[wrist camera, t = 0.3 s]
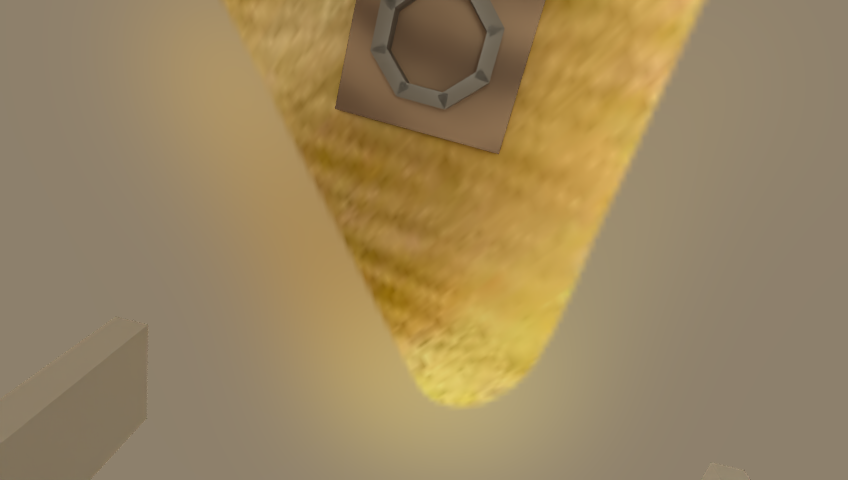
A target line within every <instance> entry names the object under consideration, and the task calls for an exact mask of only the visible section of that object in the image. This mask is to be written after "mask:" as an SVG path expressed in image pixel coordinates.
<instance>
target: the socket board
mask: <svg viewBox="0 0 848 480" xmlns="http://www.w3.org/2000/svg"><path fill="white" fill-rule="evenodd" d="M544 3H545V0H356V4H355V9H354V14H353V19H352V25H351V30H350V35H349V40H348V45H347V50H346V55H345V60H344V65H343V70H342V76H341V81H340V86H339V91H338V96H337V101H336V106H335V109H338V110H341V111H345V112H348V113H352V114H356V115H359V116H363V117H367V118H370V119H374V120H377V121H381V122H385V123H388V124H392V125H395V126H399V127H403V128H406V129H410V130H414V131H417V132H421V133H424V134H428V135H432V136H435V137H439V138H443V139H446V140H450V141H453V142H457V143H461V144H464V145H468V146H472V147H475V148H479V149H482V150H486V151H490V152H493V153H497V154H499V151H500V148H501V145H502V141H503V138H504V135H505V132H506V128H507V125H508V122H509V118H510V115H511V112H512V108H513V105H514V102H515V99H516V95H517V92H518V89H519V85H520V82H521V79H522V76H523V72H524V69H525V66H526V62H527V59H528V56H529V53H530V49H531V46H532V43H533V39H534V36H535V33H536V30H537V26H538V23H539V20H540V16H541V13H542V10H543V6H544Z"/></svg>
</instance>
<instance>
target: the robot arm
mask: <svg viewBox="0 0 848 480" xmlns="http://www.w3.org/2000/svg"><path fill="white" fill-rule="evenodd" d="M147 365H148V324H145V323H140V322H136V321H132V320H128V319H124V318H120V317H115V318H113V319H112V320H110V321H109V322H108V323H106V324H105V325H103V326H102V327H100V328H99V329H98V330H96V331H95V332H93V333H92V334H91V335H89V336H88V337H86V338H85V339H84V340H82V341H81V342H79V343H78V344H77V345H75V346H74V347H72V348H71V349H70V350H68V351H67V352H65V353H64V354H63V355H61V356H60V357H58V358H57V359H55V360H54V361H53V362H51V363H50V364H48V365H47V366H46V367H44V368H43V369H42V370H40V371H39V372H38V373H36V374H34V376H32V377H30V378H29V379H27V380H26V381H25V382H23V383H22V384H20V385H19V386H18V387H16V388H15V389H13V390H12V391H11V392H9V393H8V394H6V395H5V396H4V397H2V398H1V399H0V480H91V479H92V477H93V476H94V475H95V474H96V473H97V472H98V471H99V470H100V469H101V468H102V466H104V465H105V463H106V462H107V461H108V460H109V459H110V458H111V457H112V456H113V455H114V453H116V451H117V450H118V449H119V448H120V447H121V446H122V445H123V444H124V443H125V442H126V440H127V439H128V438H129V437H130V436H131V435H132V434H133V433H134V432H135V431H136V430H137V429H138V427H139V426H140V425H141V424H142V423H143V422H144V421H145V420H146V419H147ZM701 480H750V478H749V477H748V475H747V474H746V472H745V470H741V469H737V468H733V467H729V466H725V465H721V464H716V463H713V462H711V463H710V465H709V466H708V468H707V470H706V472H705V473H704V475H703V477H702V479H701Z"/></svg>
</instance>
